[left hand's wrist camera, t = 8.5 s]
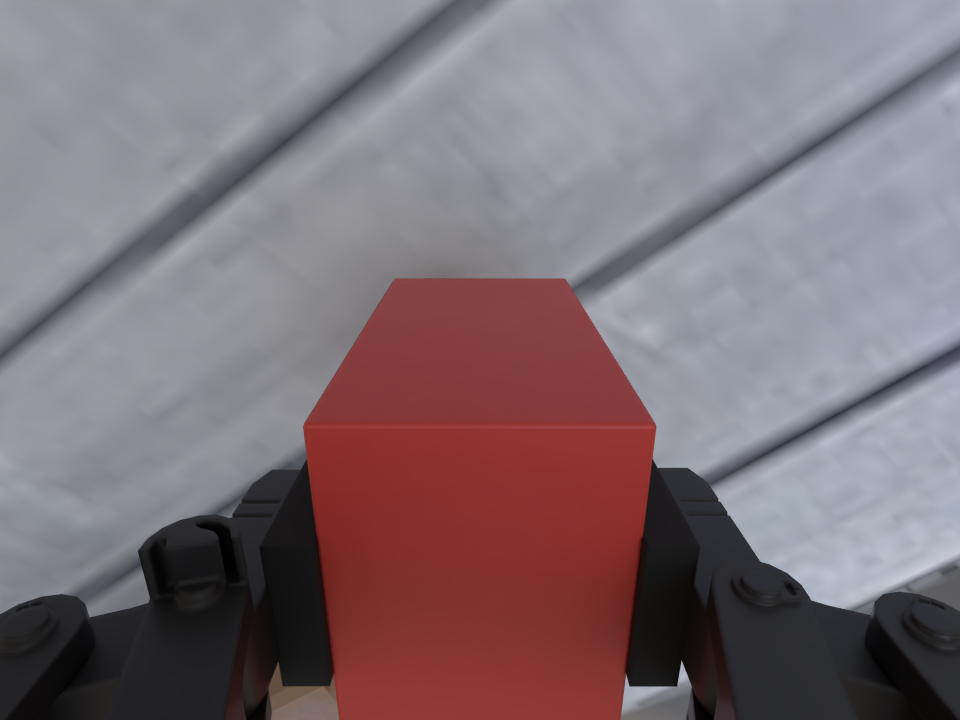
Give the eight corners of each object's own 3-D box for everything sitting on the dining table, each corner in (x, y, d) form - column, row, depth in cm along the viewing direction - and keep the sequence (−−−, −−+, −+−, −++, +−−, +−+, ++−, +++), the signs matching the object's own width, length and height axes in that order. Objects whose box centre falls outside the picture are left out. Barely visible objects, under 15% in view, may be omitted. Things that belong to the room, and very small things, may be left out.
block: (566, 278, 16) (658, 424, 8) (555, 476, 18) (617, 754, 10) (393, 277, 16) (300, 424, 8) (404, 476, 18) (342, 753, 10)
